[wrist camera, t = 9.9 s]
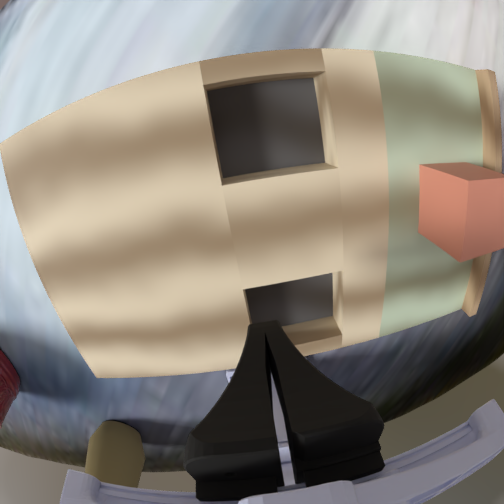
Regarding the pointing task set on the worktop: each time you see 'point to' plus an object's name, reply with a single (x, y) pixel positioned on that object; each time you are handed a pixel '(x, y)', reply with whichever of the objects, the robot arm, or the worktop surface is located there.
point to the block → (462, 208)
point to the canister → (7, 385)
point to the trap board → (249, 204)
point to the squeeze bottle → (115, 454)
